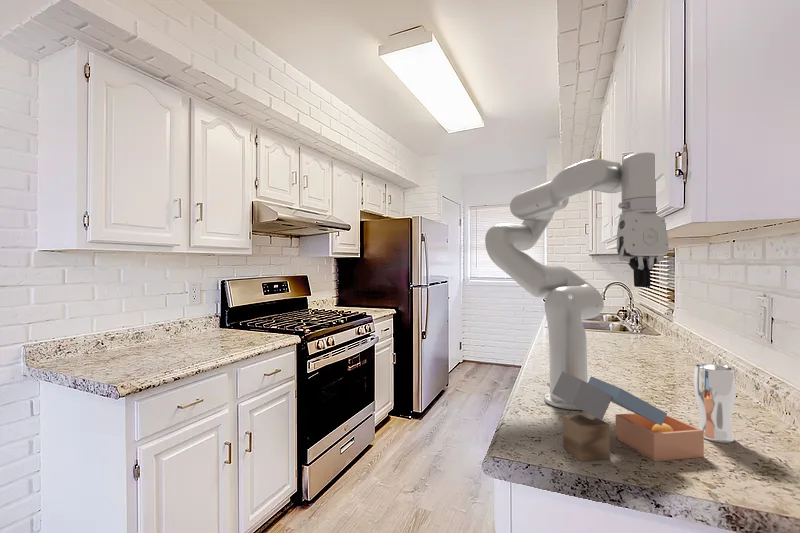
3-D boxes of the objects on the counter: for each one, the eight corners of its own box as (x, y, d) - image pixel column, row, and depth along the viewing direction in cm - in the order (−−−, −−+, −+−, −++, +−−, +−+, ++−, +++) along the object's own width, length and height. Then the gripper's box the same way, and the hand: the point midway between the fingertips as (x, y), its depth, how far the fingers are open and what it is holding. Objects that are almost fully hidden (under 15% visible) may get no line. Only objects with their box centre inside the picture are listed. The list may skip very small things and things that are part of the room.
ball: (665, 436, 83) (648, 441, 82) (662, 417, 83) (645, 422, 82) (681, 444, 79) (664, 449, 78) (678, 425, 79) (660, 430, 78)
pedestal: (581, 461, 75) (580, 426, 75) (563, 447, 80) (562, 415, 81) (610, 458, 75) (609, 424, 76) (590, 445, 81) (589, 413, 81)
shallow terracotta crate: (615, 437, 85) (615, 414, 85) (660, 434, 86) (659, 411, 86) (654, 461, 74) (654, 434, 74) (703, 456, 76) (703, 430, 76)
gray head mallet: (574, 406, 73) (590, 372, 73) (535, 383, 88) (548, 355, 88) (656, 449, 75) (671, 415, 76) (604, 420, 90) (617, 392, 91)
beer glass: (696, 428, 89) (694, 361, 90) (736, 435, 85) (734, 365, 85) (694, 438, 84) (692, 367, 84) (737, 447, 80) (735, 372, 80)
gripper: (622, 204, 87) (624, 288, 87) (682, 205, 89) (684, 286, 89) (600, 210, 94) (602, 287, 94) (656, 210, 96) (658, 285, 96)
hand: (642, 286), depth 91 cm, fingers closed
